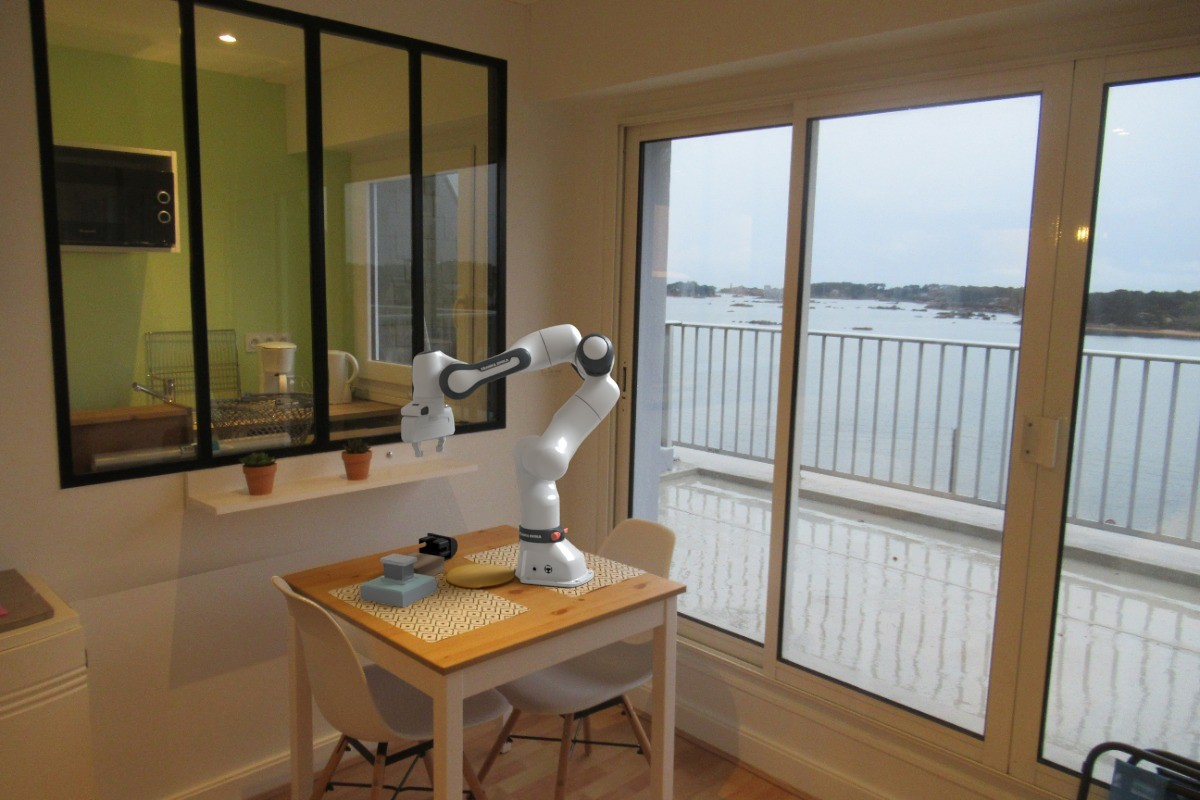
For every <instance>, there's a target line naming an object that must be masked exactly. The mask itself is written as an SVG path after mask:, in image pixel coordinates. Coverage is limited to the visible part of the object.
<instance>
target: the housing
mask: <svg viewBox="0 0 1200 800" xmlns="http://www.w3.org/2000/svg"><path fill="white" fill-rule="evenodd" d="M416 561H417V557H412V556H406V555H405V554H400V553H395V552H394V553H391V554H388V555H386V556H383V557H381V558H379V562H380V564H381V563H382V564H383V563H384V564H383V575H384V576H383V575H381V576H382V577H381V581H384V582H389V583H395V584H400V585H407V584H409V583H411V582H413V581H416V580H418V576H415V575H414V562H416Z"/></svg>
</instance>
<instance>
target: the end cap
mask: <svg viewBox="0 0 1200 800" xmlns="http://www.w3.org/2000/svg"><path fill="white" fill-rule="evenodd" d="M426 535H427V536H424V537H420V538H418V545H420V544H424V543H425V545H423V546H421V547H418V553H421V554H427V555H433V556H439V557H444V562H447V561H449V560H452V558H453V557H454V556H455V555H456V553H457V552H458V549H459V548H458V546H459V544H458V541H457V539H456V538H454V537H451V536H446V535H443V534H436V533H433V532H427V534H426Z"/></svg>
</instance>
